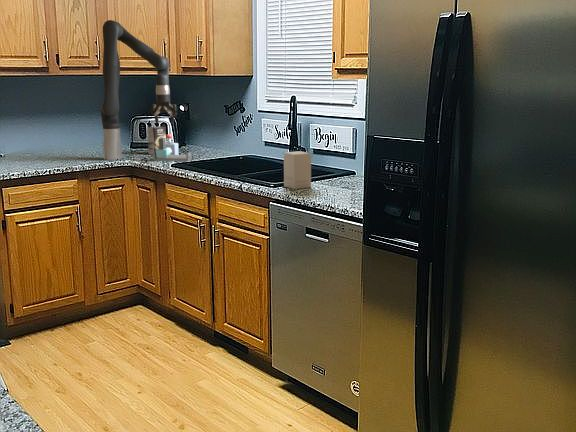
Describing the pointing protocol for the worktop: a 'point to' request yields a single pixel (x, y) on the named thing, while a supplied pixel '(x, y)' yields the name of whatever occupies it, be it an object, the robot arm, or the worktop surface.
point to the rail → (188, 157)
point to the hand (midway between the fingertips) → (164, 123)
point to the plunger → (169, 138)
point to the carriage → (162, 149)
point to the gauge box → (172, 148)
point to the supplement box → (297, 169)
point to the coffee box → (155, 138)
